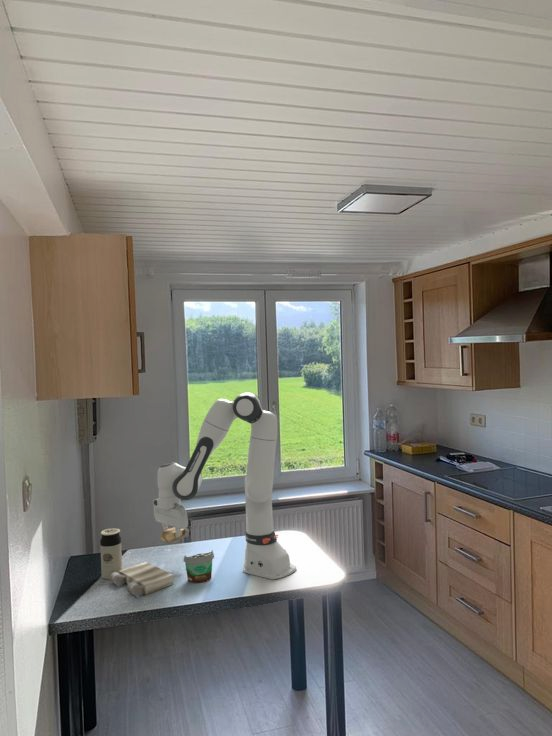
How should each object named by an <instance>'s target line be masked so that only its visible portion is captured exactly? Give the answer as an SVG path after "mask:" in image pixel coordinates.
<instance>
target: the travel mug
mask: <svg viewBox="0 0 552 736" xmlns="http://www.w3.org/2000/svg"><path fill="white" fill-rule="evenodd" d="M120 532H121V529H120V528H106V529H104V530H103V529H102V531H101V532H100V535H101V538H100V542H99V544H100V568H101V578H103V579H105V580H110V579H109V577H110V575H111V574H112V573H113V572H116V573H118V572H119V571H120V570H123V556H122V537H121V535H120Z"/></svg>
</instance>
